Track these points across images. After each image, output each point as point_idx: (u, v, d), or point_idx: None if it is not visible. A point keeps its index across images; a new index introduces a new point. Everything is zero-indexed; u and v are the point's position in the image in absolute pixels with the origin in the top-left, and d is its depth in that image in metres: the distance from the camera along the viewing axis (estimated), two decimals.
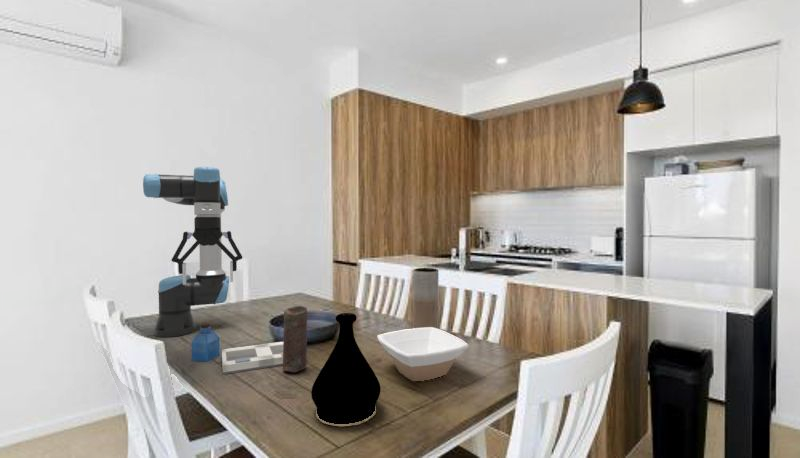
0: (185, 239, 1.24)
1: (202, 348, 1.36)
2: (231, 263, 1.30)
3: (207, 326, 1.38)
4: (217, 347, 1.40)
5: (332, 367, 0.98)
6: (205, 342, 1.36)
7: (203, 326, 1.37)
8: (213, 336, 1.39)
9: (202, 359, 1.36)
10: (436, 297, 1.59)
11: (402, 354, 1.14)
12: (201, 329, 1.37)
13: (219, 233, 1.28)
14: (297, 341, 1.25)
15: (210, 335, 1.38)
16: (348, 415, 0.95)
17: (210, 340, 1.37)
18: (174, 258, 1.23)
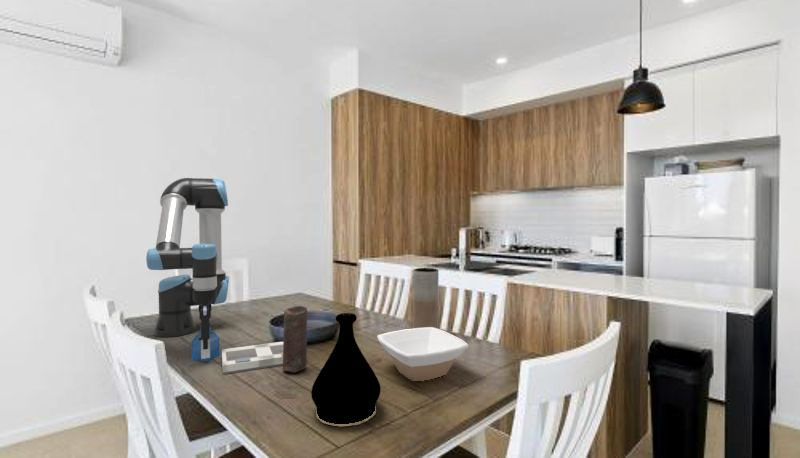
0: None
1: None
2: None
3: None
4: (217, 347, 1.40)
5: (332, 367, 0.98)
6: None
7: None
8: (213, 336, 1.39)
9: (202, 359, 1.36)
10: (436, 297, 1.59)
11: (402, 354, 1.14)
12: None
13: (201, 307, 1.35)
14: (297, 341, 1.25)
15: (210, 335, 1.38)
16: (348, 415, 0.95)
17: (210, 340, 1.37)
18: None
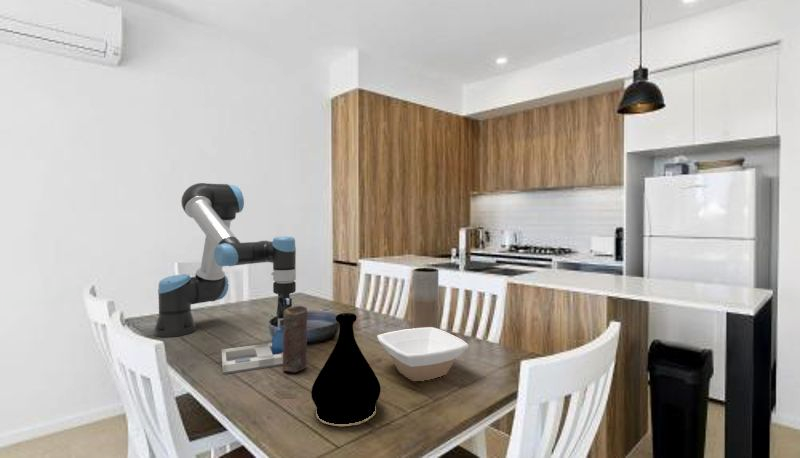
0: (278, 298, 1.45)
1: None
2: None
3: None
4: None
5: (332, 367, 0.98)
6: None
7: (283, 323, 1.39)
8: None
9: None
10: (436, 297, 1.59)
11: (402, 354, 1.14)
12: (281, 326, 1.39)
13: (282, 299, 1.36)
14: (297, 341, 1.25)
15: None
16: (348, 415, 0.95)
17: None
18: (277, 312, 1.48)
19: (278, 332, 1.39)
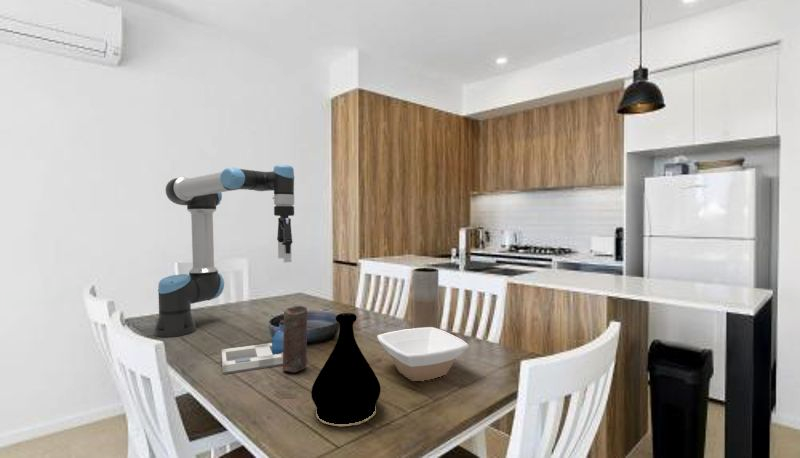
0: (278, 223, 1.61)
1: None
2: (283, 246, 1.50)
3: None
4: None
5: (332, 367, 0.98)
6: None
7: (283, 323, 1.39)
8: None
9: None
10: (436, 297, 1.59)
11: (402, 354, 1.14)
12: (281, 326, 1.39)
13: (282, 219, 1.53)
14: (297, 341, 1.25)
15: None
16: (348, 415, 0.95)
17: None
18: (277, 237, 1.64)
19: (278, 332, 1.39)
